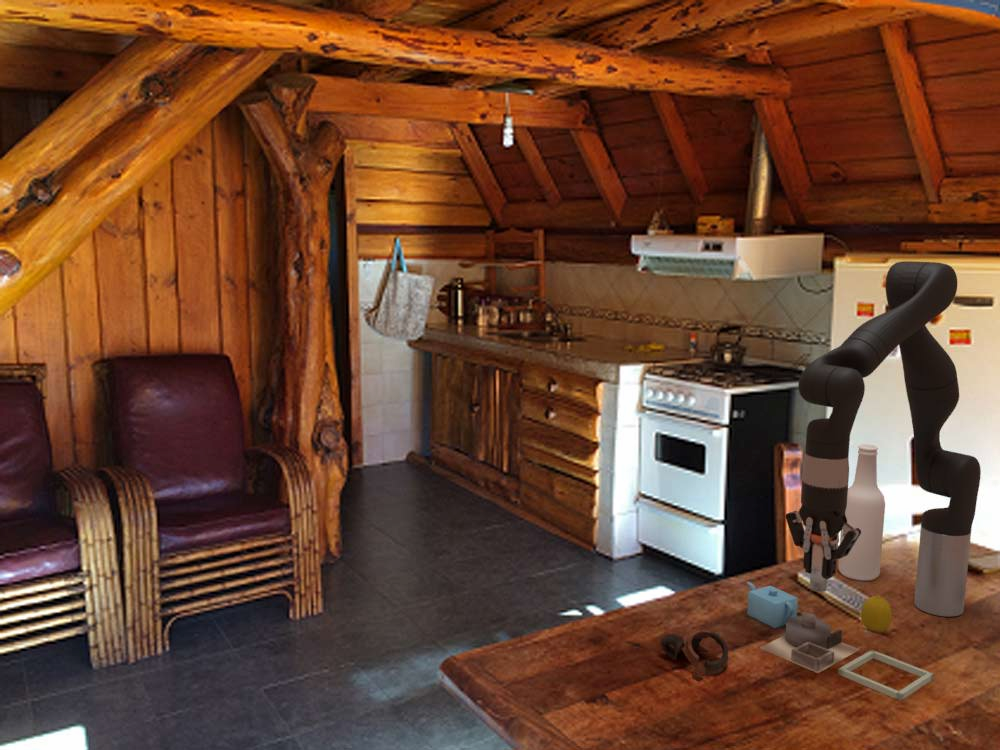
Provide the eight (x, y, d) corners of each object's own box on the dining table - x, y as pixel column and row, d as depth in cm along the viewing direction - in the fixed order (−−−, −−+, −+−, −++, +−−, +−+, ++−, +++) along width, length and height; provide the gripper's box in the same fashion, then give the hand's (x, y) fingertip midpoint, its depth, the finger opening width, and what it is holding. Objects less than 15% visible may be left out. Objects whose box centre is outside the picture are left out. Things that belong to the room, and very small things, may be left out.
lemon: (893, 642, 171) (896, 602, 169) (862, 639, 172) (865, 600, 170) (886, 629, 176) (890, 591, 175) (857, 626, 177) (860, 588, 176)
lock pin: (814, 582, 160) (817, 528, 158) (833, 589, 157) (837, 533, 156) (802, 587, 158) (805, 532, 156) (821, 594, 155) (825, 538, 153)
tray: (870, 662, 163) (871, 649, 162) (932, 687, 154) (933, 673, 154) (837, 682, 156) (838, 668, 155) (900, 709, 147) (901, 694, 147)
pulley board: (800, 633, 174) (802, 602, 173) (859, 657, 165) (862, 623, 164) (757, 654, 165) (759, 621, 164) (817, 681, 156) (819, 646, 155)
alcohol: (878, 584, 198) (888, 452, 193) (836, 577, 202) (845, 448, 197) (880, 570, 206) (890, 444, 201) (839, 564, 210) (848, 439, 205)
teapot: (734, 615, 182) (736, 580, 181) (756, 609, 185) (757, 574, 184) (780, 638, 172) (782, 602, 171) (802, 631, 175) (804, 595, 174)
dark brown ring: (720, 658, 165) (734, 632, 160) (716, 702, 158) (730, 676, 153) (657, 637, 167) (669, 611, 161) (650, 680, 159) (662, 654, 154)
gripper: (874, 485, 151) (867, 581, 154) (801, 467, 162) (795, 558, 165) (851, 493, 147) (844, 593, 150) (777, 474, 157) (771, 568, 160)
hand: (818, 574), depth 157 cm, fingers closed on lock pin, 2 cm apart
